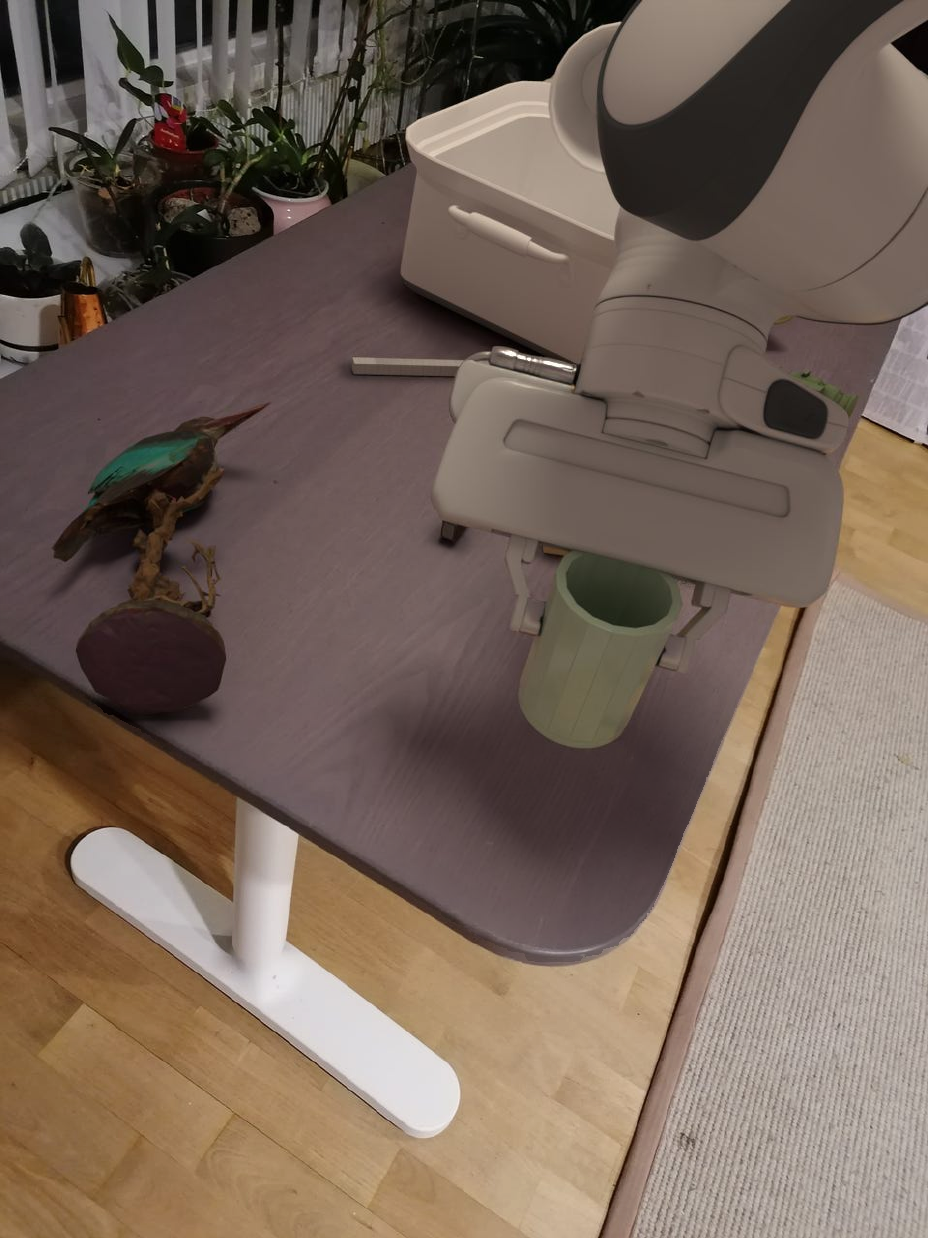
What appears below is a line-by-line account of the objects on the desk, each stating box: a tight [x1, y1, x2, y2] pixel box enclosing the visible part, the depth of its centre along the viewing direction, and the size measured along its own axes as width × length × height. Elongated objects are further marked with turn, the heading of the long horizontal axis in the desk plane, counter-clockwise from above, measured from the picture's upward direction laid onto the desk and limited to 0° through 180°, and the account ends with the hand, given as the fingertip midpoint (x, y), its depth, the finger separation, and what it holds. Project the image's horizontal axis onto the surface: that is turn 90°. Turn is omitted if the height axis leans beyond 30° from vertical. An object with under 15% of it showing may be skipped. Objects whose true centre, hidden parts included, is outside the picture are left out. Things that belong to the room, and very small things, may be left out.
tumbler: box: [517, 550, 683, 749], centre depth 51 cm, size 6×6×9 cm
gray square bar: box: [350, 356, 490, 377], centre depth 89 cm, size 12×1×1 cm, turn 103°
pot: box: [400, 80, 620, 365], centre depth 97 cm, size 34×29×15 cm
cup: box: [548, 21, 622, 175], centre depth 90 cm, size 12×12×12 cm
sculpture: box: [51, 402, 271, 715], centre depth 65 cm, size 8×14×25 cm
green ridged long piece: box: [777, 365, 859, 419], centre depth 96 cm, size 4×18×5 cm
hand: (596, 652), depth 50 cm, fingers closed on tumbler, 6 cm apart
